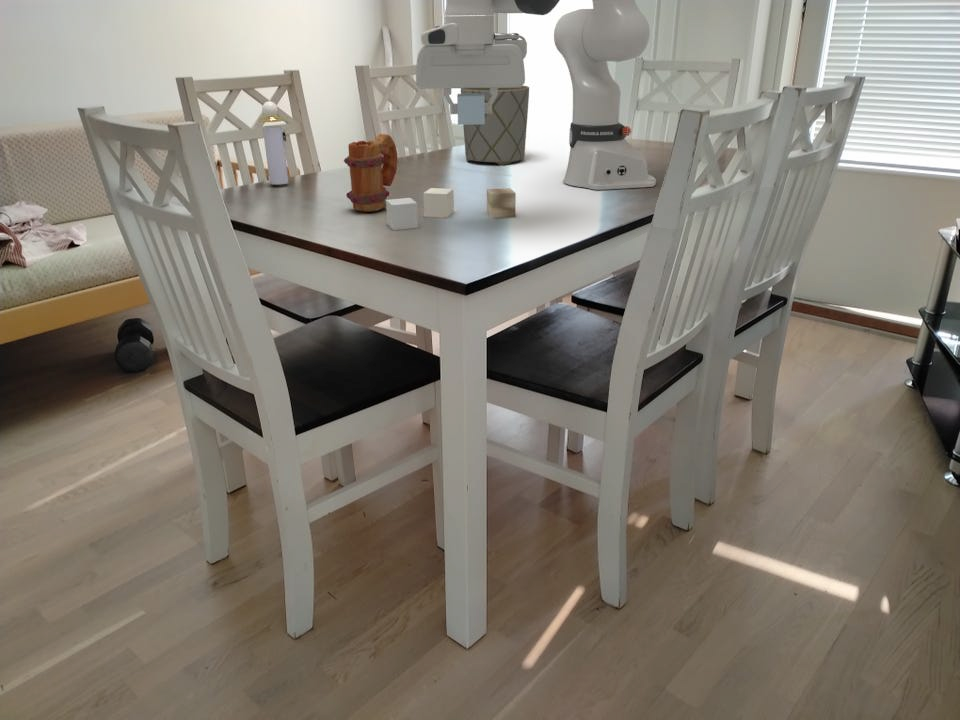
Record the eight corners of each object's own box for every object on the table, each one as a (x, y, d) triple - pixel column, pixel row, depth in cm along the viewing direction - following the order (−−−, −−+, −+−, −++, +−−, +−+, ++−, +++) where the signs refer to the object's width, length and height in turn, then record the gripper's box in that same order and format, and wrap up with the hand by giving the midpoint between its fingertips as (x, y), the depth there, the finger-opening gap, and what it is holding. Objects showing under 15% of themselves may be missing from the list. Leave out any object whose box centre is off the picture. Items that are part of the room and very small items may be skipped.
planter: (539, 158, 214) (541, 85, 206) (506, 169, 200) (507, 91, 191) (484, 153, 223) (484, 83, 215) (449, 162, 209) (447, 88, 200)
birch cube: (509, 211, 156) (509, 188, 154) (515, 217, 152) (515, 193, 150) (486, 212, 155) (486, 189, 153) (491, 218, 151) (491, 194, 149)
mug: (369, 216, 153) (363, 142, 147) (340, 212, 157) (333, 140, 151) (411, 202, 164) (407, 133, 158) (383, 198, 168) (378, 131, 162)
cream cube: (453, 212, 156) (453, 189, 154) (447, 218, 152) (446, 194, 150) (431, 211, 157) (430, 188, 155) (424, 217, 153) (423, 193, 151)
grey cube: (411, 222, 149) (410, 197, 147) (418, 228, 145) (417, 202, 143) (387, 224, 148) (385, 199, 145) (393, 230, 143) (392, 205, 141)
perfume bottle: (276, 189, 179) (265, 103, 171) (263, 185, 183) (251, 101, 174) (296, 185, 183) (286, 101, 175) (283, 182, 187) (272, 99, 178)
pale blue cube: (484, 120, 141) (483, 93, 139) (484, 124, 137) (484, 95, 135) (458, 121, 141) (457, 93, 139) (457, 124, 137) (457, 96, 135)
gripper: (525, 32, 135) (524, 110, 141) (415, 33, 135) (418, 112, 141) (528, 33, 130) (527, 114, 136) (412, 34, 129) (416, 116, 135)
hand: (471, 113), depth 138 cm, fingers closed on pale blue cube, 5 cm apart
